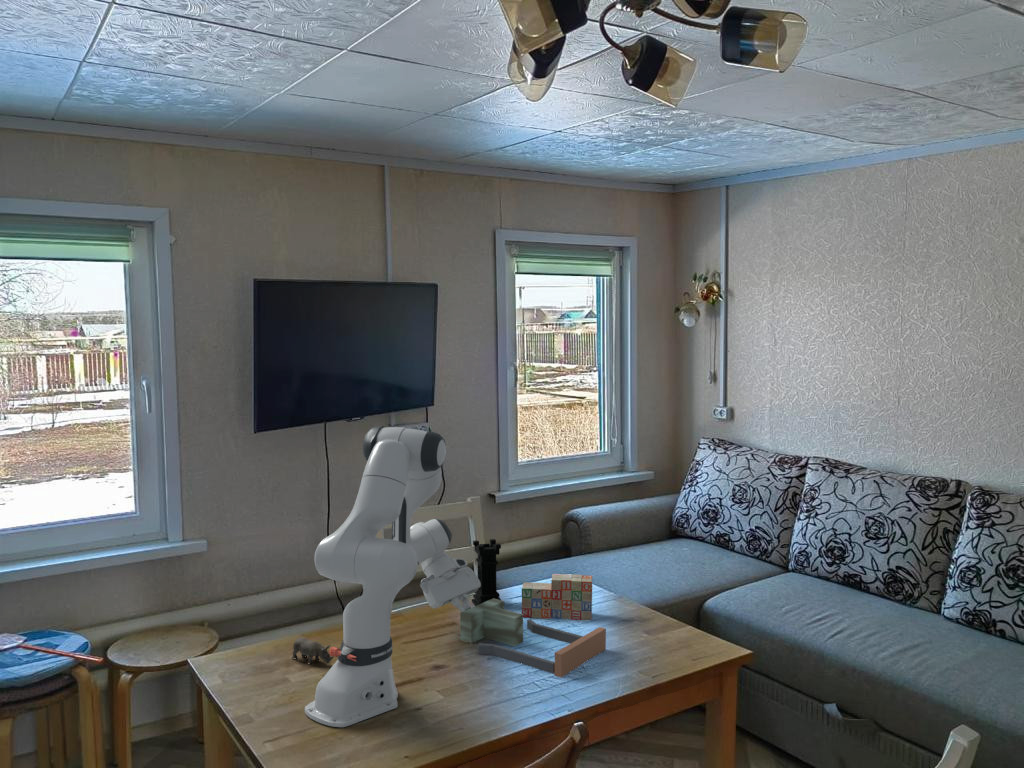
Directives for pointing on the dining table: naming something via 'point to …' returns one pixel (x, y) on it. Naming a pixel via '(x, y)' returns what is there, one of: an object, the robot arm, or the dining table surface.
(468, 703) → the dining table surface
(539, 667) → the bay
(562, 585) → the stack of blocks
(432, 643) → the dining table surface
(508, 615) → the T block
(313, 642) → the rhino figurine
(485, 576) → the chess piece
